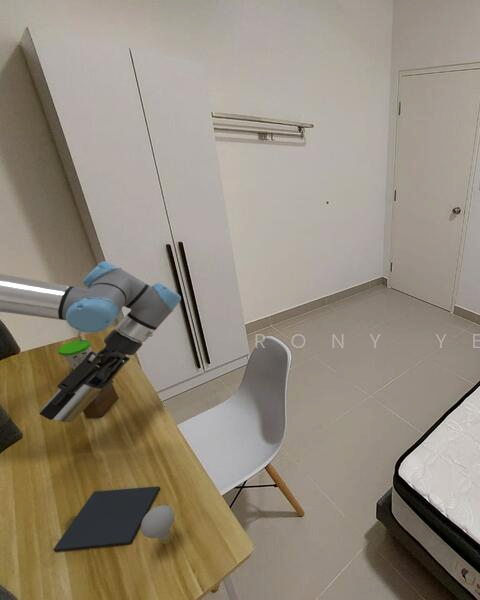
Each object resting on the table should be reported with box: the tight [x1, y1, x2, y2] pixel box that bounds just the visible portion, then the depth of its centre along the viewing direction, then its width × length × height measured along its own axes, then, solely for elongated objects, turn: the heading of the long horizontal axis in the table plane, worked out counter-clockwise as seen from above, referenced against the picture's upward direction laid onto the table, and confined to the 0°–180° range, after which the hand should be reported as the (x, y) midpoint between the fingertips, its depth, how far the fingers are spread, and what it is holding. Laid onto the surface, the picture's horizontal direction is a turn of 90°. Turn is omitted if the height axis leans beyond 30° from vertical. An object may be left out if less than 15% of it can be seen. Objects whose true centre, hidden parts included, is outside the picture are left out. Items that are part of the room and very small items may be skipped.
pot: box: [40, 375, 107, 423], centre depth 81 cm, size 8×10×8 cm
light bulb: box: [140, 504, 175, 545], centre depth 67 cm, size 5×6×10 cm
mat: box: [52, 485, 161, 553], centre depth 72 cm, size 14×12×1 cm
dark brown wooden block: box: [82, 379, 119, 419], centre depth 97 cm, size 5×8×7 cm, turn 8°
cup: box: [57, 330, 92, 370], centre depth 109 cm, size 8×8×15 cm
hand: (58, 414), depth 80 cm, fingers closed on pot, 7 cm apart
